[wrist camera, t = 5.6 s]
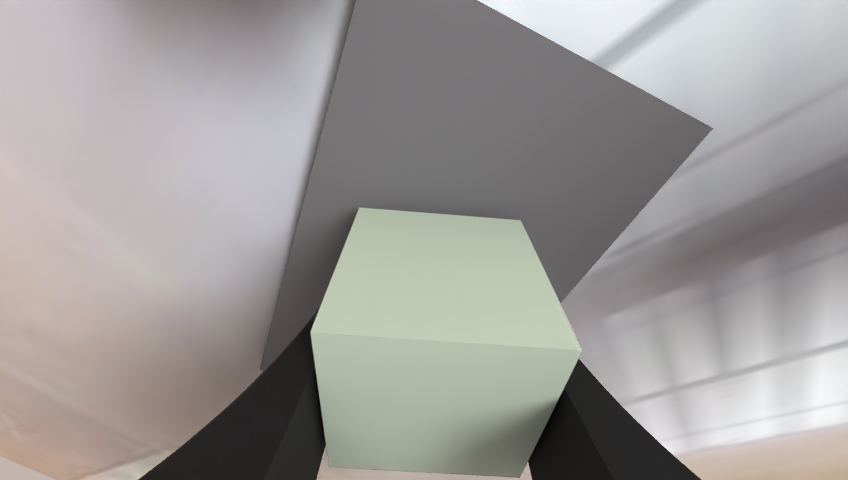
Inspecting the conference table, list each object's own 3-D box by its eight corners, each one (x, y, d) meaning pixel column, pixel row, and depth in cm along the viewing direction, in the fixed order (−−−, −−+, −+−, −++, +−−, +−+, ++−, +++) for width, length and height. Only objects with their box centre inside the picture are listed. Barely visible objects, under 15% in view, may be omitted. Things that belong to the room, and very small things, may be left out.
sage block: (520, 220, 10) (582, 350, 6) (490, 332, 13) (519, 477, 9) (359, 207, 10) (310, 332, 6) (361, 323, 13) (328, 467, 9)
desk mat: (698, 123, 10) (712, 128, 9) (456, 409, 18) (457, 420, 17) (374, -52, 8) (370, -58, 7) (265, 358, 16) (259, 369, 15)
